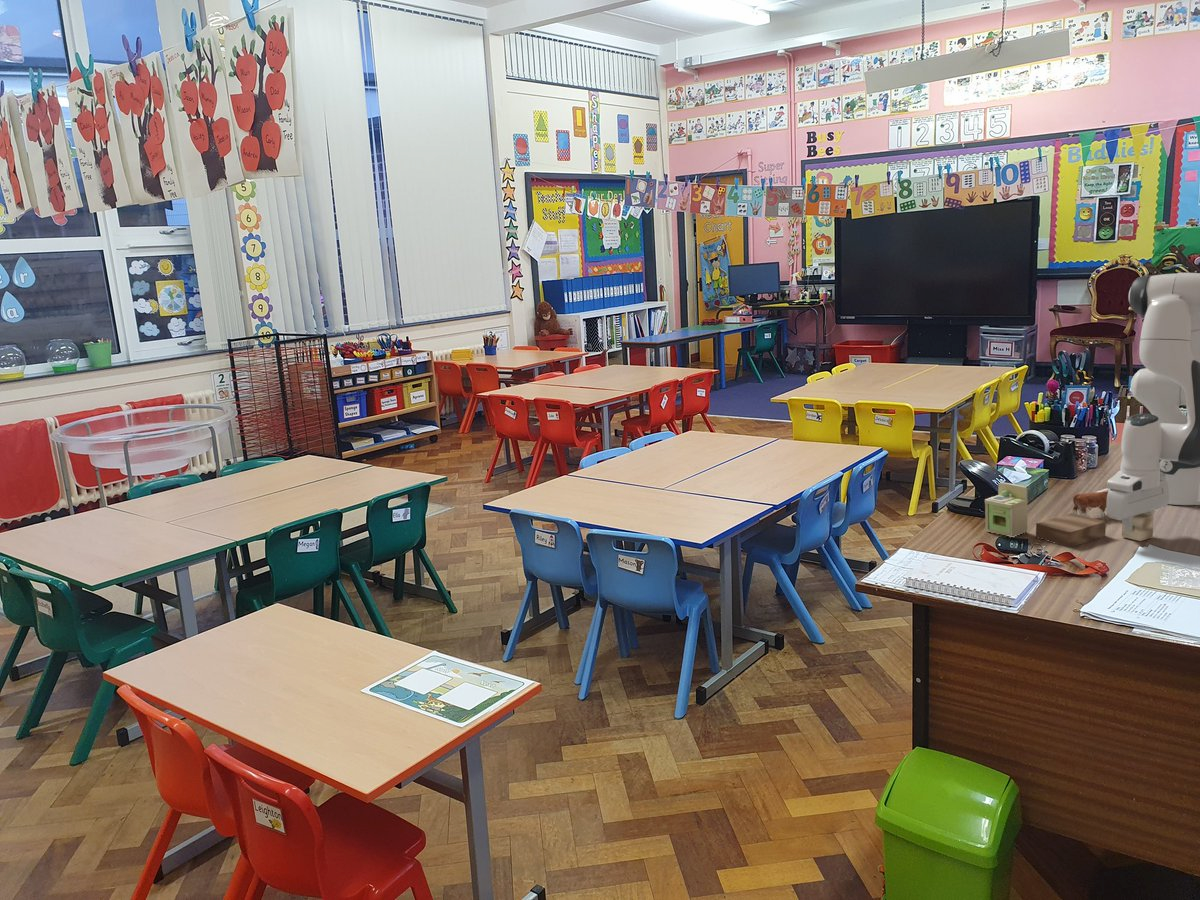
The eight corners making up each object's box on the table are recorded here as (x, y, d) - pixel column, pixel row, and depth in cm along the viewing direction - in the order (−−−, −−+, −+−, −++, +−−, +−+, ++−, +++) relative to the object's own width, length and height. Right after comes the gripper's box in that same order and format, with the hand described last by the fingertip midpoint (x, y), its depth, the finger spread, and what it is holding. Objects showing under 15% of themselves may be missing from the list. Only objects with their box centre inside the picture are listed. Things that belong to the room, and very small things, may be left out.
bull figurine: (1124, 516, 250) (1125, 488, 248) (1075, 520, 250) (1076, 492, 249) (1115, 512, 254) (1116, 484, 252) (1067, 515, 255) (1068, 488, 253)
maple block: (1134, 532, 236) (1134, 510, 235) (1152, 537, 232) (1153, 515, 230) (1121, 536, 234) (1122, 514, 233) (1140, 541, 229) (1141, 518, 228)
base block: (1071, 527, 245) (1071, 513, 244) (1105, 535, 236) (1105, 521, 235) (1035, 537, 239) (1036, 523, 238) (1069, 547, 230) (1070, 532, 230)
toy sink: (983, 532, 247) (983, 486, 244) (999, 526, 251) (1000, 481, 248) (1010, 539, 240) (1011, 492, 237) (1027, 532, 244) (1028, 486, 241)
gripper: (1153, 468, 236) (1151, 518, 239) (1102, 482, 228) (1100, 534, 231) (1177, 472, 231) (1174, 523, 234) (1126, 487, 222) (1123, 540, 225)
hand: (1137, 528), depth 232 cm, fingers closed on maple block, 5 cm apart
